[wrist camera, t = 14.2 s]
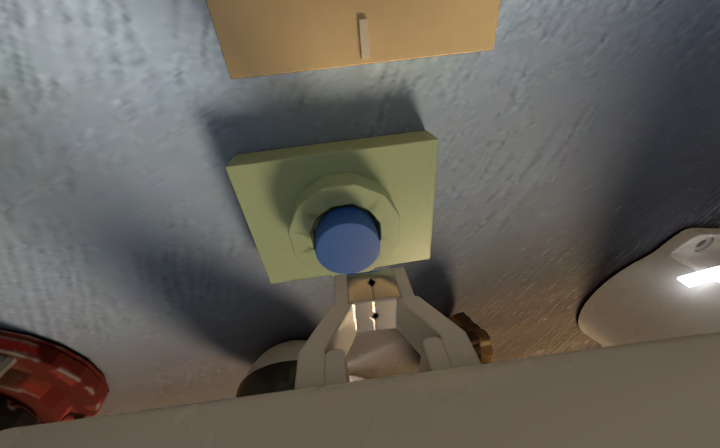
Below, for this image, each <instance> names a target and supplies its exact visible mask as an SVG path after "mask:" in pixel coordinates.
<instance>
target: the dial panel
mask: <svg viewBox="0 0 720 448" xmlns="http://www.w3.org/2000/svg"><path fill="white" fill-rule="evenodd" d="M206 2H207V6H208V9H209V12H210V15H211V18H212V21H213V24H214V28H215V31H216V34H217V37H218V40H219V43H220V46H221V50H222V53H223V56H224V59H225V62H226V65H227V68H228V72H229V75H230V78H231V79H238V78H247V77H256V76H264V75H273V74H282V73H291V72H300V71H309V70H318V69H326V68H335V67H344V66H353V65H362V64H371V63H380V62H389V61H397V60H406V59H415V58H424V57H433V56H442V55H451V54H460V53H468V52H477V51H486V50H492V49H493V48H494V41H495V35H496V28H497V22H498V15H499V9H500V2H501V0H206Z"/></svg>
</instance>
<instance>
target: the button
mask: <svg viewBox="0 0 720 448" xmlns="http://www.w3.org/2000/svg"><path fill="white" fill-rule="evenodd" d="M379 252H380V239H379V236H378V233H377V230H376V227H375V224H374V222H373V220H372V218H371V217H370V216H369V215H368V214H367V213H366V212H364V211H362V210H360V209H358V208H354V207H340V208H336V209H334V210H332V211H330V212H328V213H327V214H325V215H324V216H323V217H322V218H321V220H320V221H319V223H318V225H317V228H316V239H315V253H316V257H317V259H318V261H319V262H320V264H321V265H322V266H323V267H325V268H326V269H328V270H329V271H332V272H334V273H338V274H350V273H357V272H360V271H363V270H365V269H366V268H368V267H369V266H370V265H372V264H373V263H374V262H375V260H376V259H377V257H378V255H379Z"/></svg>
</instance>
